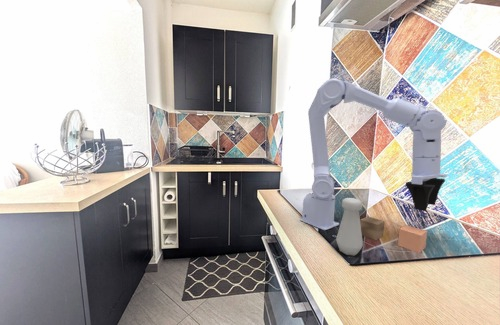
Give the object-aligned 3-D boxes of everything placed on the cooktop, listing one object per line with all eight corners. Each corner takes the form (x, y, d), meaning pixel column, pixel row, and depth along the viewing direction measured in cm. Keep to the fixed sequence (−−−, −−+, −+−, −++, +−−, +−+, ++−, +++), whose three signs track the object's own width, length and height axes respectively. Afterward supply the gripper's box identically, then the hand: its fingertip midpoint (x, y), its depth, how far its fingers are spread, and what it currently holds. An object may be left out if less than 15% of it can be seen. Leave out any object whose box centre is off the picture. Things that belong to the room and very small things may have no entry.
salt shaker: (365, 259, 47) (369, 203, 46) (338, 256, 48) (342, 201, 47) (357, 246, 53) (361, 196, 51) (333, 243, 54) (336, 195, 53)
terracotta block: (398, 245, 54) (399, 228, 53) (404, 240, 57) (406, 225, 56) (419, 253, 50) (421, 235, 50) (425, 247, 53) (427, 231, 52)
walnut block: (359, 234, 60) (360, 219, 60) (366, 230, 63) (367, 216, 62) (375, 240, 56) (377, 224, 56) (383, 236, 59) (384, 221, 59)
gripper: (438, 159, 48) (436, 216, 49) (453, 155, 56) (452, 204, 57) (402, 158, 53) (401, 210, 54) (420, 155, 62) (420, 199, 63)
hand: (425, 206), depth 56 cm, fingers open, 7 cm apart
